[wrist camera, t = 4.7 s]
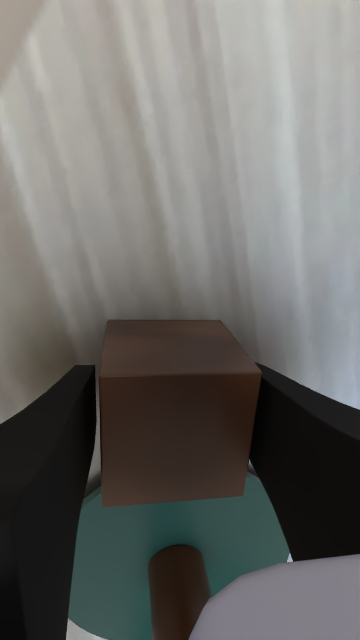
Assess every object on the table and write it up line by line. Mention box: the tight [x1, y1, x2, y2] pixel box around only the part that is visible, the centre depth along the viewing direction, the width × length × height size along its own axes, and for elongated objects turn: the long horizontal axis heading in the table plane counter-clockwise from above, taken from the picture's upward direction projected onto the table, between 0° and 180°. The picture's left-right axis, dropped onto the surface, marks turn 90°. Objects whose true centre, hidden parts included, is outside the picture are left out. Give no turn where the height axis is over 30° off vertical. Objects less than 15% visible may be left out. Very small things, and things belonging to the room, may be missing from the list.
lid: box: [68, 471, 290, 640], centre depth 13 cm, size 10×10×4 cm
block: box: [99, 320, 262, 507], centre depth 11 cm, size 4×4×4 cm
